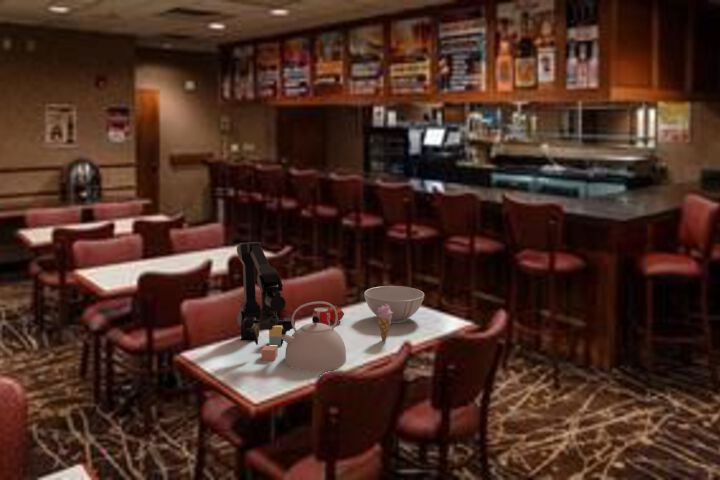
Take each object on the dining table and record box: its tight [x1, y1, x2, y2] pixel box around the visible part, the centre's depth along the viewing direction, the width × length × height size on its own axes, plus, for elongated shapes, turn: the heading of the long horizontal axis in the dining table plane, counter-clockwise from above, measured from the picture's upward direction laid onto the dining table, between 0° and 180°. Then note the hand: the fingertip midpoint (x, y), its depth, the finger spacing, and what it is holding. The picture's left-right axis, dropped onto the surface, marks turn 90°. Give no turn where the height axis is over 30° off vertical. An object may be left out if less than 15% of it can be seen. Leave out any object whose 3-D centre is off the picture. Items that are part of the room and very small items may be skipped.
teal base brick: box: [268, 335, 282, 347], centre depth 270 cm, size 5×5×4 cm
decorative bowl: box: [363, 285, 425, 324], centre depth 304 cm, size 27×27×12 cm
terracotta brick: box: [260, 345, 278, 361], centre depth 254 cm, size 5×5×4 cm
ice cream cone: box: [375, 304, 393, 342], centre depth 274 cm, size 7×6×15 cm
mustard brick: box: [268, 326, 283, 337], centre depth 269 cm, size 5×5×4 cm
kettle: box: [280, 301, 347, 372], centre depth 250 cm, size 25×23×23 cm
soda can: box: [312, 307, 331, 327], centre depth 277 cm, size 7×7×12 cm
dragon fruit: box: [324, 305, 345, 325], centre depth 298 cm, size 8×8×12 cm
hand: (269, 345), depth 253 cm, fingers open, 9 cm apart
